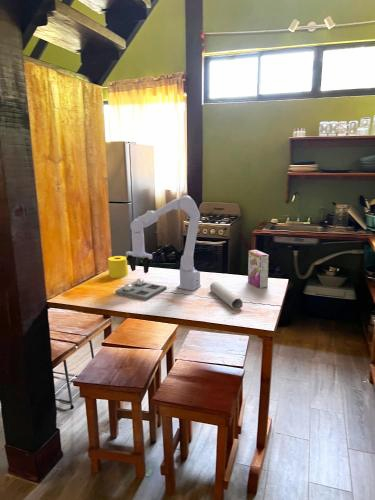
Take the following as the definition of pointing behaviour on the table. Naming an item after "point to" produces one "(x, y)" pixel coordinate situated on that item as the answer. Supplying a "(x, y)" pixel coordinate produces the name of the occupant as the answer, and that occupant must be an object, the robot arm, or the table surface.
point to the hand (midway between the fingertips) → (139, 271)
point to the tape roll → (117, 266)
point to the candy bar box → (258, 268)
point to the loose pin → (140, 282)
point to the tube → (226, 296)
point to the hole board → (142, 291)
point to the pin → (128, 288)
